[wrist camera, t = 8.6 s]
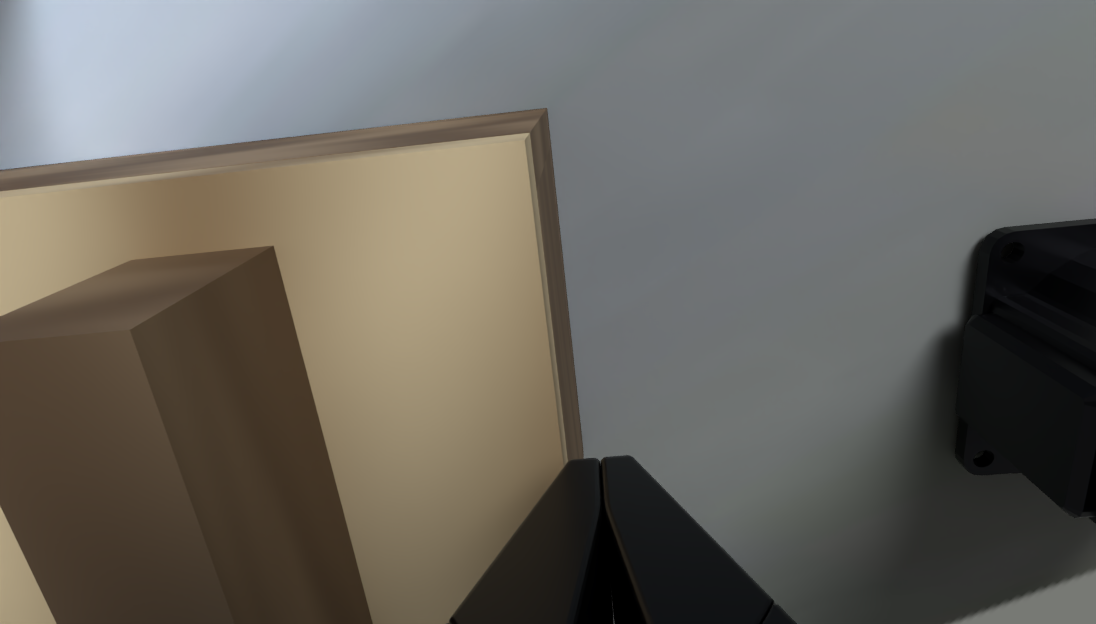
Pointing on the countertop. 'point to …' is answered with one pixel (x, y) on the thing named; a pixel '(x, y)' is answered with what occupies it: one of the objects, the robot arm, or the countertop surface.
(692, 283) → the countertop surface
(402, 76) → the countertop surface
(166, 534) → the lid
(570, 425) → the wooden box
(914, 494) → the countertop surface
